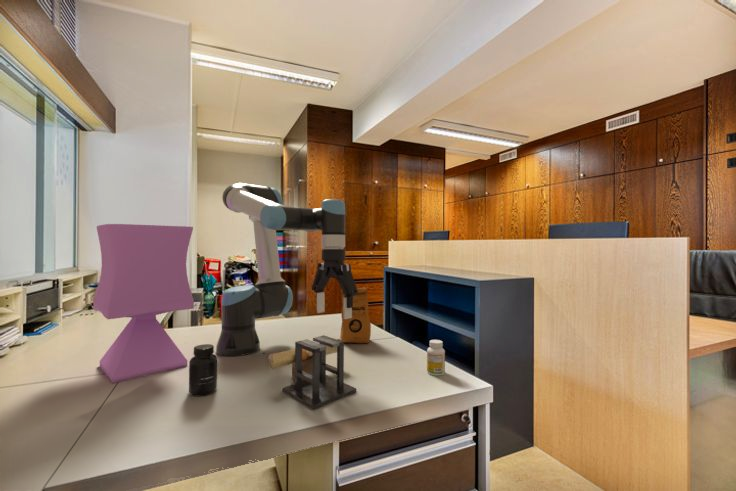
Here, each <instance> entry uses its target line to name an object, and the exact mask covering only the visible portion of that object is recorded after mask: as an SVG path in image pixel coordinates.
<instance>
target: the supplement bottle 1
mask: <svg viewBox="0 0 736 491" xmlns="http://www.w3.org/2000/svg"><path fill="white" fill-rule="evenodd" d="M214 347H215V346H214V345H213V344H212V343H211V344H209V343H205V344H199V345H195V346H194V347H193V352H192V353H193V357H191V358H190V360H189V365H188V393H189V395H190V396H194V397H202V396H203V397H205V396H209V395H210V394H213V393H215V391H216V390H217V388H218V387H217V386H218V357H217V356H216V354H214V353H215V349H214Z"/></svg>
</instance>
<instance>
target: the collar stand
mask: <svg viewBox="0 0 736 491" xmlns="http://www.w3.org/2000/svg"><path fill="white" fill-rule="evenodd" d="M337 339H338V338H333V337H329V336H327V335H325V334H324V335H323V334H322V335H319V336H315V337H313V338H312V340H310V339H308V338H307V339H303V340H298V341H295V342H294V349H295V379H294V383H293V384H290V385H287V386H283V387H282V393H284V394H285V395H287V396H289V397H290V398H292V399H294V400H296V401H297V402H299V403H301V404H302V405H304V406H306V407H307V408H309V409H310V410H312V411H314V410H317V409H319V408H322V407H323V406H326V405H329V404H332V403H334V402H336V401H339V400H341V399H344V398H347V397H348V396H351V395H353V394H355V393H357V388H356V387H354V386H352V385H350V384H347V383H345V380H344V379H345V377H344V373H345V372H344V370H345V361H344V359H345V358H344V357H345V355H344V354H345V342H343V341H340V340H341V339H340V340H337ZM319 343H320V344H319ZM326 345H327V346H329V347H332V348H334V347H337V352H336V367H335V366H333V365H330V364H328V363H327V355H326V349H327V346H326ZM302 349H305V350H307V351H310V352H312V375H310V374H308V373H306V372H304V371H302ZM326 372H329V373H332V374H334V375H336V378H334V377H331V376H329V375H327V373H326ZM302 379H304V380H305V381H302Z"/></svg>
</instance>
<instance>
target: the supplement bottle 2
mask: <svg viewBox="0 0 736 491" xmlns="http://www.w3.org/2000/svg"><path fill="white" fill-rule="evenodd" d="M443 343H444V342H443V341H442V340H440V339H431V340H429V347H427V350H426V371H427V373H428V374H429V375H431V376H434V377H435V376H436V377H437V376H438V377H439V376H443V375H445V374H446V373H445V372H446V368H445V367H446V363H445V362H446V350H445V349H444V348H443V346H444V344H443Z"/></svg>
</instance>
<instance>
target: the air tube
mask: <svg viewBox="0 0 736 491" xmlns="http://www.w3.org/2000/svg"><path fill="white" fill-rule="evenodd" d="M336 339H337V340H340V341H341V339H340V338H336ZM319 344H320V343H319ZM326 346H327V345H326ZM332 354H337V347H334V348H332V347H329V346H327V349H326V356H328V355H332ZM267 357H268V358H267V362H268V367H269V368H270V369H271V370H275V369H280V368H283V367H287V366H290V365H291V366H292V364H295V348H292V349H288V350H283V351H280V352H279V351H278V352H274V353H270V354H269V355H268V356H267ZM309 359H312V352H310V351H307V350H305V349H302V361H305V360H309Z"/></svg>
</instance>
